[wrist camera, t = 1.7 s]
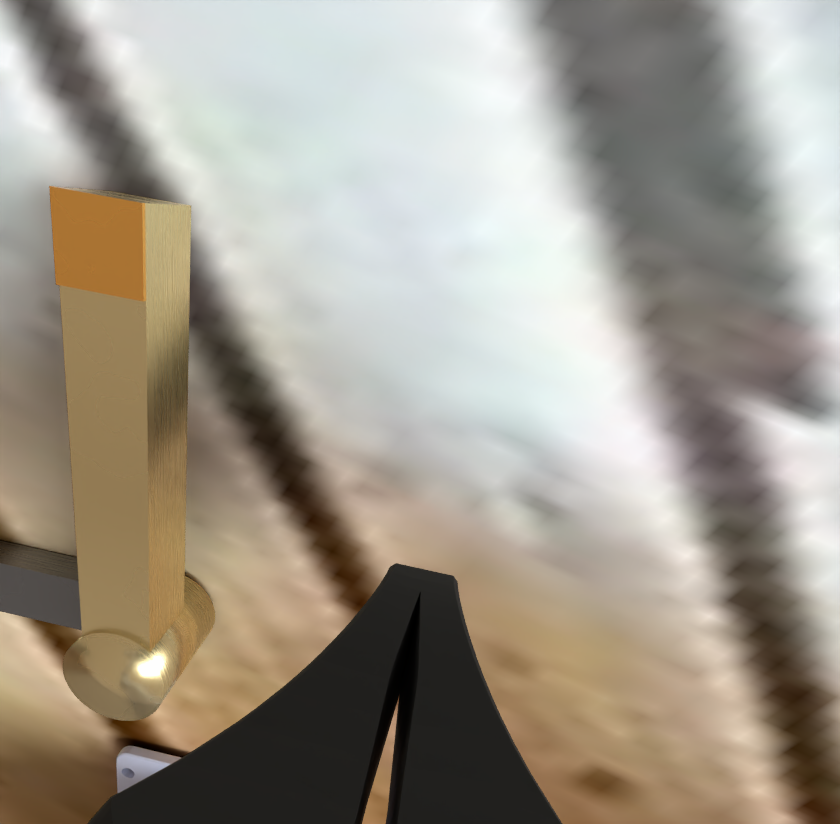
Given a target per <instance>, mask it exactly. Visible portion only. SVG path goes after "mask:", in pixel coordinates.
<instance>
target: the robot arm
mask: <svg viewBox="0 0 840 824" xmlns="http://www.w3.org/2000/svg"><path fill="white" fill-rule="evenodd" d="M399 694H400V695H399ZM398 697H399V704H398V714H397V724H396V734H395V744H394V754H393V763H392V773H391V783H390V793H389V803H388V812H387V819H386V824H562V823H561V821H560V819H559V818H558V816H557V815H556V813H555V811H554V810H553V808H552V807H551V805H550V803H549V802H548V800H547V799H546V797H545V795H544V794H543V792H542V791H541V789H540V787H539V786H538V784H537V783H536V781H535V779H534V778H533V776H532V775H531V773H530V771H529V769H528V768H527V766H526V764H525V762H524V760H523V758H522V757H521V755H520V753H519V751H518V749H517V747H516V746H515V744H514V742H513V740H512V738H511V736H510V734H509V732H508V730H507V728H506V726H505V724H504V722H503V720H502V718H501V716H500V713H499V711H498V709H497V707H496V705H495V702H494V700H493V698H492V696H491V693H490V691H489V688H488V686H487V683H486V681H485V679H484V676H483V674H482V671H481V668H480V666H479V663H478V660H477V657H476V654H475V651H474V648H473V645H472V642H471V639H470V636H469V633H468V630H467V626H466V623H465V619H464V615H463V611H462V607H461V603H460V598H459V592H458V583H457V581H456V579H455V578H454V576H451V575H447V574H442V573H438V572H433V571H428V570H424V569H419V568H415V567H410V566H406V565H401V564H397V563H396V564H394V565H392V566H391V567H390V568H389V570H388V572H387V574H386V575H385V577H384V579H383V580H382V582H381V583H380V585H379V586H378V588H377V589H376V591H375V592H374V593H373V595H372V596H371V597H370V599H369V600H368V601H367V603H366V604H365V605H364V606H363V607H362V609H361V610H360V611H359V612H358V613H357V615H356V616H355V617H354V618H353V619H352V621H351V622H350V623H349V624H348V625H347V626H346V627H345V629H344V630H343V631H342V632H341V633H340V634H339V635H338V636H337V637H336V638H335V639H334V640H333V641H332V642H331V643H330V644H329V645H328V646H327V647H326V648H325V649H324V650H323V652H322V653H321V654H319V655H318V656H317V657H316V658H315V659H314V660H313V661H312V662H311V663H310V664H309V665H308V666H307V667H306V668H305V669H303V670H302V671H301V672H300V673H299V674H298V675H297V676H295V677H294V678H293V679H292V680H291V681H290V682H289V683H287V684H286V685H285V686H284V687H283V688H281V689H280V690H279V691H278V692H276V693H275V694H274V695H272V696H271V697H270V698H269V699H267V700H266V701H265V702H264V703H262V704H261V705H260V706H258V707H257V708H256V709H254V710H253V711H252V712H250V713H249V714H248V715H246V716H245V717H244V718H242V719H241V720H239V721H238V722H236V723H235V724H233V725H232V726H230V727H229V728H227V729H226V730H224V731H223V732H221V733H220V734H218V735H217V736H215V737H214V738H212V739H211V740H209V741H207V742H206V743H204V744H203V745H201V746H200V747H198V748H197V749H195V750H194V751H192V752H191V753H189V754H187V755H186V756H184V757H182V758H181V757H177V756H173V755H169V754H164V753H160V752H156V751H152V750H148V749H144V748H140V747H136V746H126V747H124V748H123V749H122V750H121V751H120V753H119V754H118V756H117V758H116V769H117V794H116V795H114V796H112V797H110V799H109V800H108V801H107V802H106V803H105V804H104V805H103V806H102V807H101V808H100V810H99V811H98V812H97V813H96V814H95V815H94V817H93V818H92V819H91V820H90V821H89V822H88V824H362V821H363V817H364V813H365V809H366V805H367V802H368V798H369V795H370V792H371V788H372V785H373V781H374V778H375V775H376V771H377V768H378V765H379V761H380V758H381V755H382V751H383V748H384V744H385V741H386V738H387V734H388V731H389V728H390V724H391V721H392V718H393V714H394V711H395V707H396V704H397V701H398Z"/></svg>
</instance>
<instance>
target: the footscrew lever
mask: <svg viewBox="0 0 840 824" xmlns="http://www.w3.org/2000/svg"><path fill="white" fill-rule="evenodd" d="M49 188H50V203H51V218H52V233H53V248H54V263H55V278H56V285H59V286H60V301H61V317H62V332H63V348H64V363H65V379H66V394H67V409H68V425H69V440H70V456H71V471H72V487H73V502H74V517H75V533H76V548H77V564H78V579H79V595H80V610H81V626H82V636H81V637H80V638H79V639H78V640H77V641H76V642H75V643H74V644H73V645H72V646H71V647H70V648H69V649H68V651H67V652H66V654H65V656H64V659H63V673H64V677H65V680H66V682H67V684H68V686H69V688H70V689H71V691H72V692H73V693H74V695H75V696H76V697H77V698H78V699H79V700H80V701H81V702H82V703H83V704H85V705H86V706H87V707H89V708H90V709H92V710H93V711H95V712H97V713H99V714H101V715H103V716H106V717H109V718H112V719H116V720H123V721H134V720H140V719H143V718H146V717H148V716H150V715H151V714H153V713H154V712H155V711H156V710H157V708H158V707H159V706H160V704H161V703H162V701H163V700H164V698H165V697H166V695H167V694H168V692H169V691H170V690H171V688H172V687H173V685H174V684H175V682H176V681H177V679H178V678H179V676H180V675H181V674H182V672H183V671H184V669H185V668H186V666H187V665H188V663H189V662H190V660H191V659H192V657H193V656H194V655H195V653H196V652H197V650H198V649H199V647H200V646H201V644H202V643H203V641H204V640H205V638H206V637H207V636H208V634H209V633H210V631H211V630H212V628H213V625H214V621H215V611H214V607H213V604H212V602H211V600H210V598H209V596H208V595H207V593H206V592H205V591H204V589H203V588H202V587H201V586H200V585H199V584H197V583H196V582H195V581H193V580H192V579H190V578H189V577H187V576H185V575H184V574H185V518H186V461H187V405H188V349H189V293H190V236H191V206H190V205H185V204H179V203H174V202H168V201H163V200H157V199H152V198H146V197H141V196H135V195H130V194H124V193H119V192H113V191H104V190H92V189H80V188H67V187H55V186H49Z"/></svg>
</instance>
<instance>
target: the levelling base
mask: <svg viewBox="0 0 840 824" xmlns="http://www.w3.org/2000/svg"><path fill="white" fill-rule="evenodd" d="M0 611H2V612H6V613H10V614H15V615H19V616H23V617H28V618H32V619H36V620H40V621H45V622H49V623H53V624H58V625H62V626H66V627H70V628H75V629H79V630H82V626H81V610H80V595H79V579H78V564H77V558H76V557H72V556H67V555H63V554H59V553H54V552H50V551H45V550H41V549H36V548H32V547H27V546H23V545H19V544H14V543H10V542H5V541H1V540H0Z"/></svg>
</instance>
